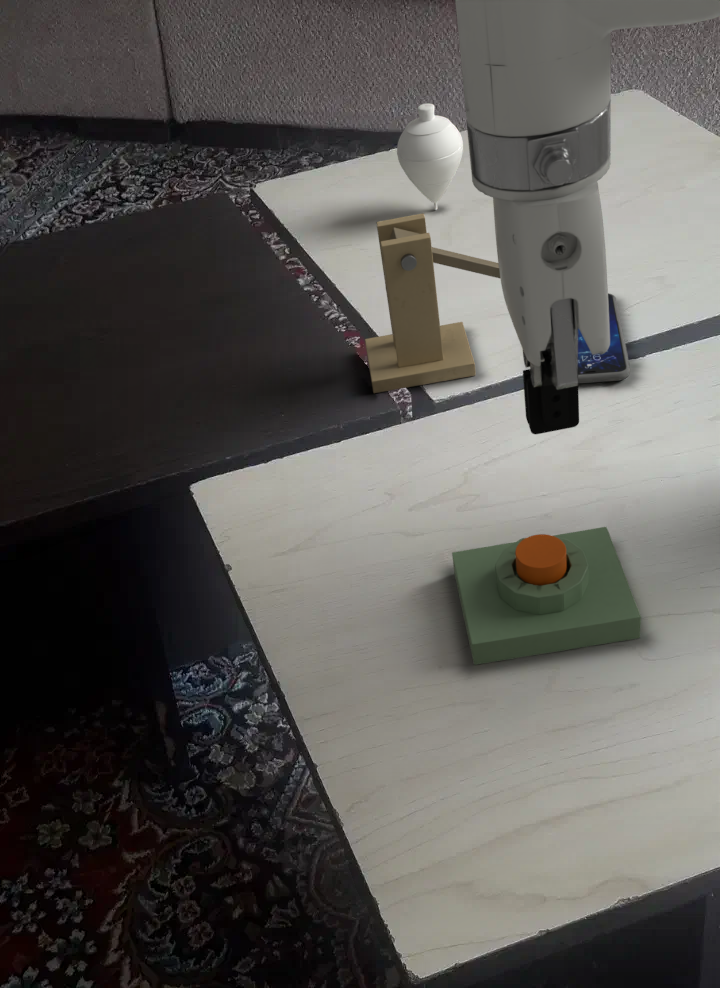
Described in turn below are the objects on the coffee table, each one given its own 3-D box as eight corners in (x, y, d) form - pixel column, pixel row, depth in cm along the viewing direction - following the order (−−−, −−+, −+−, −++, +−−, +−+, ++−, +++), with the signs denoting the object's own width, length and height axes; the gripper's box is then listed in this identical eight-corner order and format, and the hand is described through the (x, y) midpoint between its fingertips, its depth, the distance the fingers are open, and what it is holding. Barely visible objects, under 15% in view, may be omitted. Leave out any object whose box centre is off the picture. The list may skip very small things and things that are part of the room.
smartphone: (616, 290, 107) (632, 373, 97) (615, 299, 108) (631, 382, 98) (541, 297, 108) (550, 379, 98) (542, 305, 109) (550, 388, 99)
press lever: (513, 273, 102) (522, 250, 101) (525, 303, 98) (534, 280, 97) (383, 242, 99) (391, 217, 98) (390, 272, 95) (398, 247, 93)
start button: (560, 548, 78) (560, 530, 77) (571, 581, 76) (571, 563, 75) (512, 556, 79) (511, 538, 77) (521, 589, 76) (520, 571, 75)
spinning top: (395, 223, 127) (381, 119, 119) (417, 194, 132) (406, 92, 123) (455, 225, 124) (446, 119, 116) (476, 196, 129) (468, 92, 120)
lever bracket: (463, 333, 108) (451, 200, 98) (475, 375, 102) (464, 239, 92) (366, 350, 108) (345, 220, 98) (373, 393, 103) (351, 259, 93)
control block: (606, 547, 83) (606, 508, 80) (640, 638, 76) (642, 598, 73) (454, 573, 84) (449, 534, 81) (474, 665, 77) (469, 626, 74)
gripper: (647, 186, 52) (639, 481, 65) (576, 80, 62) (582, 353, 75) (494, 217, 52) (518, 504, 65) (449, 107, 63) (477, 374, 76)
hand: (552, 423), depth 70 cm, fingers closed
